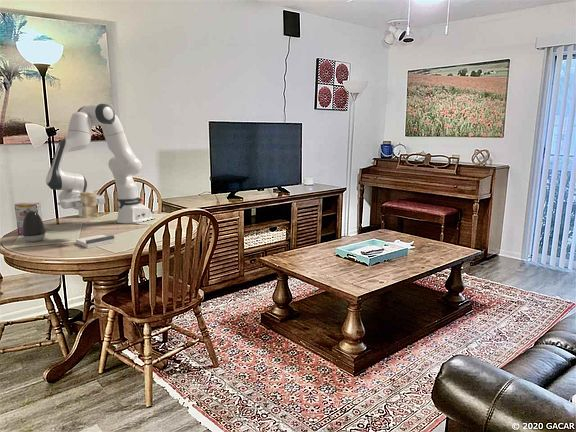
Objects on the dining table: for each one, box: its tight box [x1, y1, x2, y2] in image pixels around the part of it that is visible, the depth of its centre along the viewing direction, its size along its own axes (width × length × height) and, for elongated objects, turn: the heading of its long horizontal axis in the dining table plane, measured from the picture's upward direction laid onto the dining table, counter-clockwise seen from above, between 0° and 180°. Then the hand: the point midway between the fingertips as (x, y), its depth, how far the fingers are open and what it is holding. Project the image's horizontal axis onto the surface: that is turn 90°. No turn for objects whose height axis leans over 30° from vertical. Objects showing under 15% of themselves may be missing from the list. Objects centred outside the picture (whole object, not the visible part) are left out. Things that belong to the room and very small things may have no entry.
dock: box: [75, 234, 116, 249], centre depth 211 cm, size 13×13×4 cm
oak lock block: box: [80, 191, 98, 219], centre depth 210 cm, size 5×5×12 cm
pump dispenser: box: [21, 211, 46, 243], centre depth 215 cm, size 10×10×15 cm
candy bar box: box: [14, 202, 43, 235], centre depth 230 cm, size 11×5×16 cm, turn 99°
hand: (89, 203), depth 209 cm, fingers closed on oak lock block, 5 cm apart
